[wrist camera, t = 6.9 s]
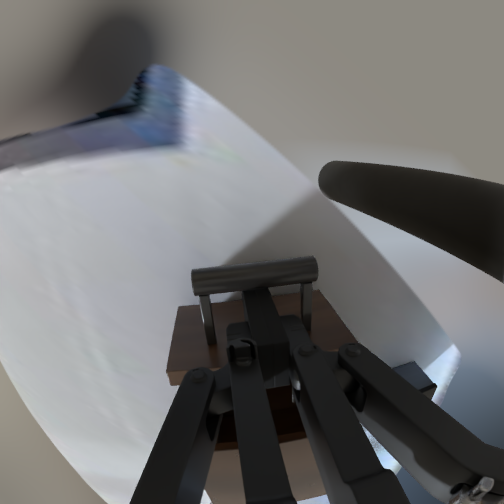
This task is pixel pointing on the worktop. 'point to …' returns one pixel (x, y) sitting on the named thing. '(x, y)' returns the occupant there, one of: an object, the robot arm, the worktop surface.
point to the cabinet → (296, 463)
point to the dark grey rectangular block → (417, 378)
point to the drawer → (221, 314)
